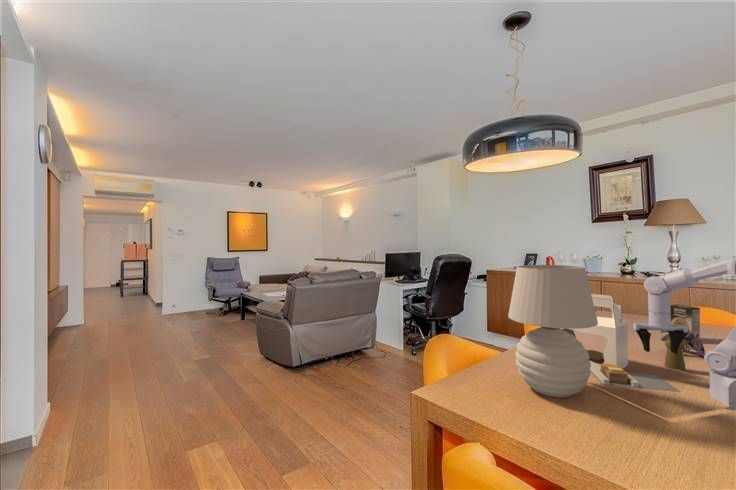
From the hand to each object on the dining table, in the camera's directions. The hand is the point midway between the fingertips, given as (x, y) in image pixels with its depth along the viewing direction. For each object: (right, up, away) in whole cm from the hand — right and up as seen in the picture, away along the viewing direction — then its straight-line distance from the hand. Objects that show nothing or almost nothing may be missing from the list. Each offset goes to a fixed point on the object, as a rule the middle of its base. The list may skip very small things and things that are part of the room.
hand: (660, 351), depth 113 cm
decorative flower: (+32, -10, +26) cm, 42 cm away
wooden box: (-16, -9, 0) cm, 18 cm away
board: (-11, -10, -1) cm, 15 cm away
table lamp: (-40, -11, -6) cm, 42 cm away
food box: (+52, -9, +46) cm, 70 cm away
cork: (+14, -10, +9) cm, 19 cm away
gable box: (-13, -11, +17) cm, 24 cm away
